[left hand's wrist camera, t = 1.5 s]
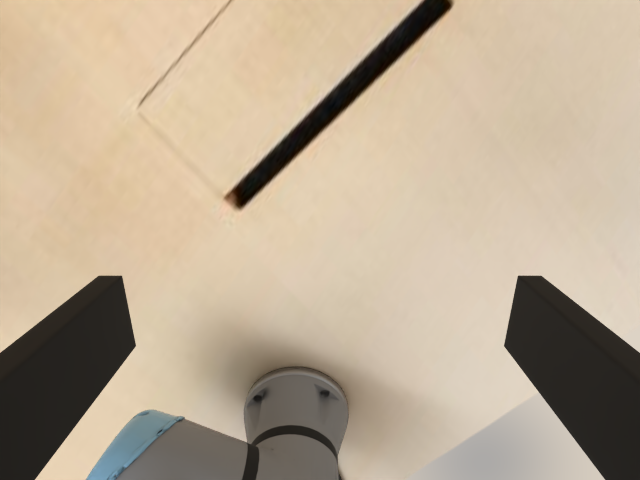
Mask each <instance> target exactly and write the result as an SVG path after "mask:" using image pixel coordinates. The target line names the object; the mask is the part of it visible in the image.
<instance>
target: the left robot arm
mask: <svg viewBox="0 0 640 480" xmlns="http://www.w3.org/2000/svg"><path fill="white" fill-rule="evenodd" d="M135 346H136V344H135V339H134V334H133V329H132V324H131V319H130V314H129V309H128V304H127V299H126V294H125V289H124V284H123V279H122V276H98V277H97V278H95V279H94V280H93V281H92V282H90V283H89V284H88V285H86V286H85V287H84V288H83V289H81V290H80V291H79V292H78V293H76V294H75V295H74V296H72V297H71V298H70V299H69V300H67V301H66V302H65V303H63V304H62V305H61V306H60V307H58V308H57V309H56V310H55V311H53V312H52V313H51V314H49V315H48V316H47V317H46V318H44V319H43V320H42V321H40V322H39V323H38V324H37V325H35V326H34V327H33V328H32V329H30V330H29V331H28V332H26V333H25V334H24V335H23V336H21V337H20V338H19V339H18V340H16V341H15V342H14V343H12V344H11V345H10V346H9V347H7V348H6V349H5V350H3V351H2V352H1V353H0V480H35V479H36V477H37V476H38V475H39V473H40V472H41V471H42V469H43V468H44V467H45V465H46V464H47V463H48V461H49V460H50V459H51V457H52V456H53V455H54V454H55V452H56V451H57V450H58V448H59V447H60V446H61V444H62V443H63V442H64V440H65V439H66V438H67V436H68V435H69V434H70V432H71V431H72V430H73V428H74V427H75V426H76V424H77V423H78V422H79V420H80V419H81V418H82V417H83V415H84V414H85V413H86V411H87V410H88V409H89V407H90V406H91V405H92V403H93V402H94V401H95V399H96V398H97V397H98V395H99V394H100V393H101V391H102V390H103V389H104V387H105V386H106V385H107V383H108V382H109V381H110V380H111V378H112V377H113V376H114V374H115V373H116V372H117V370H118V369H119V368H120V366H121V365H122V364H123V362H124V361H125V360H126V358H127V357H128V356H129V354H130V353H131V352H132V350H133V349H134V348H135ZM504 346H505V348H506V349H507V350H508V352H509V353H510V354H511V356H512V357H513V358H514V360H515V361H516V362H517V364H518V365H519V366H520V368H521V369H522V370H523V372H524V373H525V374H526V376H527V377H528V378H529V380H530V381H531V382H532V383H533V385H534V386H535V387H536V389H537V390H538V391H539V393H540V394H541V395H542V397H543V398H544V399H545V401H546V402H547V403H548V405H549V406H550V407H551V408H552V410H553V411H554V413H555V414H556V415H557V416H558V418H559V419H560V420H561V422H562V423H563V424H564V426H565V427H566V428H567V430H568V431H569V432H570V434H571V435H572V436H573V438H574V439H575V440H576V442H577V443H578V444H579V446H580V447H581V448H582V450H583V451H584V452H585V453H586V455H587V456H588V457H589V459H590V460H591V461H592V463H593V464H594V465H595V467H596V468H597V469H598V471H599V472H600V473H601V475H602V476H603V477H604V479H605V480H640V353H639V352H638V351H636V350H635V349H634V348H633V347H631V346H630V345H629V344H628V343H626V342H625V341H624V340H622V339H621V338H620V337H619V336H617V335H616V334H615V333H614V332H612V331H611V330H610V329H608V328H607V327H606V326H605V325H603V324H602V323H601V322H600V321H598V320H597V319H596V318H594V317H593V316H592V315H591V314H589V313H588V312H587V311H585V310H584V309H583V308H582V307H580V306H579V305H578V304H577V303H575V302H574V301H573V300H571V299H570V298H569V297H568V296H566V295H565V294H564V293H562V292H561V291H560V290H559V289H557V288H556V287H555V286H554V285H552V284H551V283H550V282H548V281H547V280H546V279H545V278H543V277H542V276H518V279H517V284H516V289H515V294H514V299H513V304H512V309H511V314H510V319H509V324H508V329H507V334H506V339H505V344H504ZM347 423H348V404H347V399H346V396H345V394H344V392H343V390H342V389H341V387H340V386H339V385H338V384H337V383H336V382H335V381H334V380H333V379H331V378H330V377H329V376H327V375H325V374H323V373H321V372H319V371H316V370H313V369H309V368H302V367H288V368H282V369H278V370H275V371H272V372H270V373H268V374H266V375H264V376H263V377H261V378H260V379H259V380H258V381H257V382H256V383H255V384H254V385H253V386H252V388H251V389H250V391H249V393H248V396H247V399H246V403H245V407H244V424H245V430H246V437H247V443H246V442H244V441H241V440H239V439H236V438H233V437H230V436H228V435H225V434H222V433H220V432H217V431H215V430H212V429H209V428H207V427H204V426H202V425H199V424H196V423H194V422H191V421H189V420H186V419H185V417H183V416H178V417H176V416H173V415H169V414H166V413H163V412H160V411H157V410H145V411H143V412H141V413H139V414H137V415H136V416H135V417H133V418H132V419H131V420H130V421H129V422H128V423H127V424H126V425H125V427H124V428H123V429H122V430H121V431H120V433H119V434H118V435H117V436H116V438H115V439H114V440H113V441H112V443H111V444H110V445H109V447H108V448H107V449H106V451H105V452H104V454H103V455H102V456H101V458H100V459H99V461H98V462H97V463H96V465H95V466H94V468H93V469H92V471H91V472H90V474H89V475H88V477H87V479H86V480H341V477H340V475H339V473H338V453H339V450H340V446H341V443H342V440H343V437H344V434H345V431H346V428H347Z"/></svg>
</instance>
